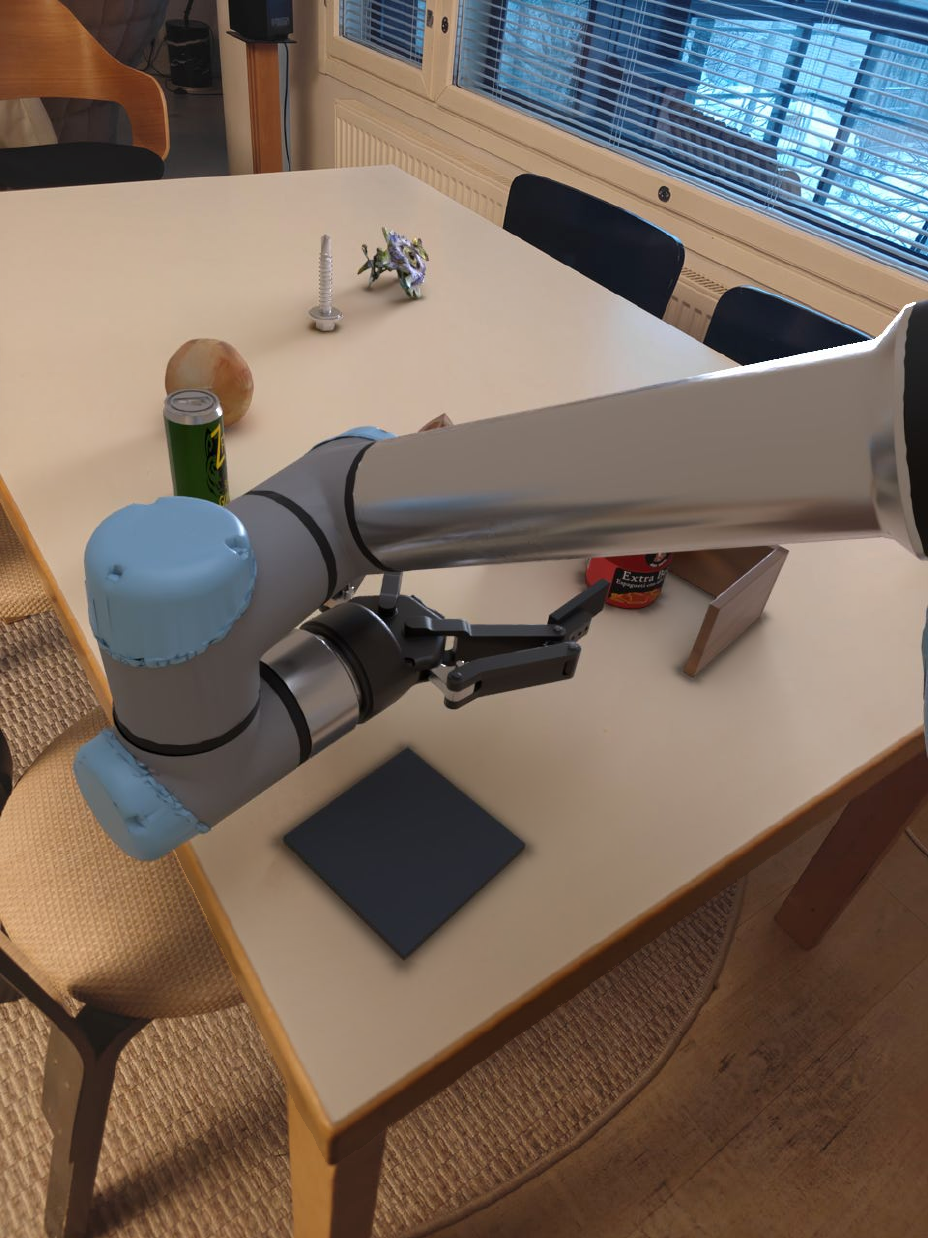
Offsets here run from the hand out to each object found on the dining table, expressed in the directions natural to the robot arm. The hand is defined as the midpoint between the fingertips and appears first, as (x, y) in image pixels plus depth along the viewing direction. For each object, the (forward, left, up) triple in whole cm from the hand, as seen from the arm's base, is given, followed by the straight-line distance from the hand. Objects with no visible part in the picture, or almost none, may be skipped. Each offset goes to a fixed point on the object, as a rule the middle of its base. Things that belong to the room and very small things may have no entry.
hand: (533, 551), depth 68 cm
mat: (-7, +20, -12) cm, 24 cm away
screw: (+64, -33, -12) cm, 73 cm away
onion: (+50, -4, -12) cm, 52 cm away
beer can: (+36, +7, -12) cm, 39 cm away
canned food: (0, -17, -12) cm, 21 cm away
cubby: (0, -17, -12) cm, 21 cm away
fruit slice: (+27, -18, -12) cm, 35 cm away
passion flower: (+69, -51, -12) cm, 87 cm away
